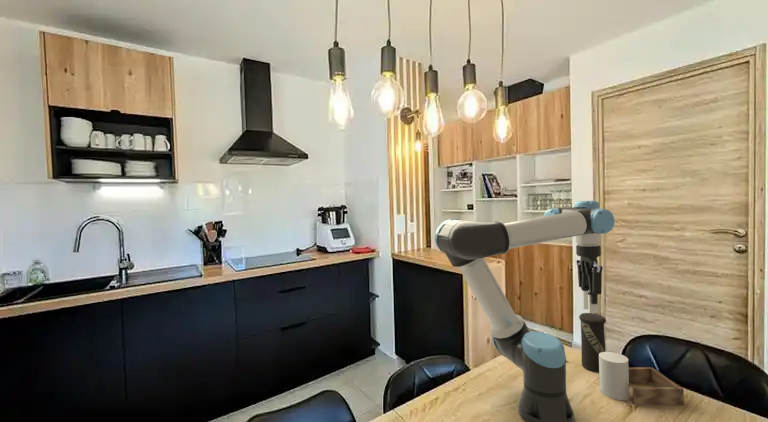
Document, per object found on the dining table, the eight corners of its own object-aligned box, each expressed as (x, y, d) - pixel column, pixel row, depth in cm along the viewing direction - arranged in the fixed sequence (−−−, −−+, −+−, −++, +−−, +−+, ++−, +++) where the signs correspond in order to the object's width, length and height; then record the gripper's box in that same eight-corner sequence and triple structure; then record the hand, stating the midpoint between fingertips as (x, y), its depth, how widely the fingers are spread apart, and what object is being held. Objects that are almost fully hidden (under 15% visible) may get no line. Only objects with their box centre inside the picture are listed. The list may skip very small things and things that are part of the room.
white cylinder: (634, 400, 111) (633, 363, 111) (605, 399, 113) (604, 362, 113) (622, 387, 119) (621, 352, 119) (595, 385, 121) (594, 351, 121)
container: (583, 371, 131) (582, 318, 130) (578, 360, 140) (576, 310, 139) (610, 373, 128) (609, 319, 128) (603, 362, 137) (601, 311, 136)
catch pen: (635, 405, 109) (635, 389, 109) (610, 381, 123) (609, 367, 123) (683, 405, 108) (683, 389, 108) (652, 381, 122) (652, 367, 122)
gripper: (612, 247, 115) (614, 318, 116) (587, 241, 132) (589, 303, 133) (589, 248, 116) (591, 318, 117) (566, 242, 132) (568, 304, 133)
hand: (590, 310), depth 125 cm, fingers open, 3 cm apart
